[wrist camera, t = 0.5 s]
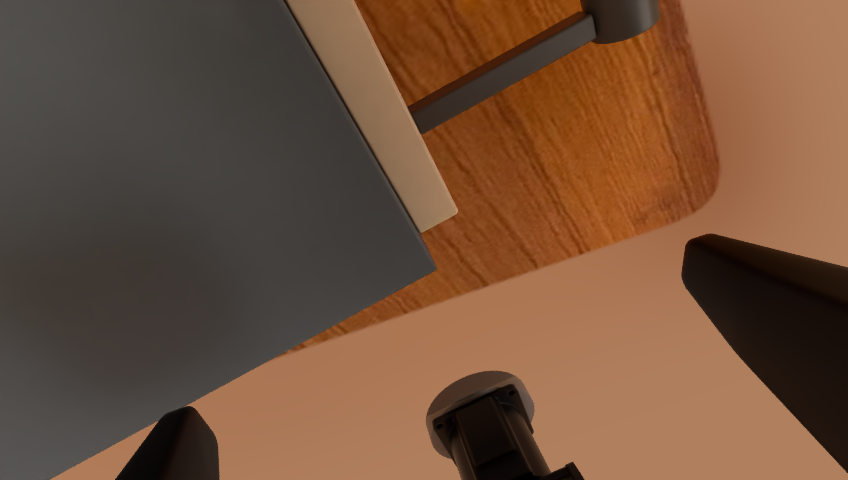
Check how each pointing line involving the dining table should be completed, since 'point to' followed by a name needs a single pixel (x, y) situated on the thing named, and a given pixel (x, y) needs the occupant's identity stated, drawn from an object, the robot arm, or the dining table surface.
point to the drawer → (402, 126)
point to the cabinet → (171, 213)
